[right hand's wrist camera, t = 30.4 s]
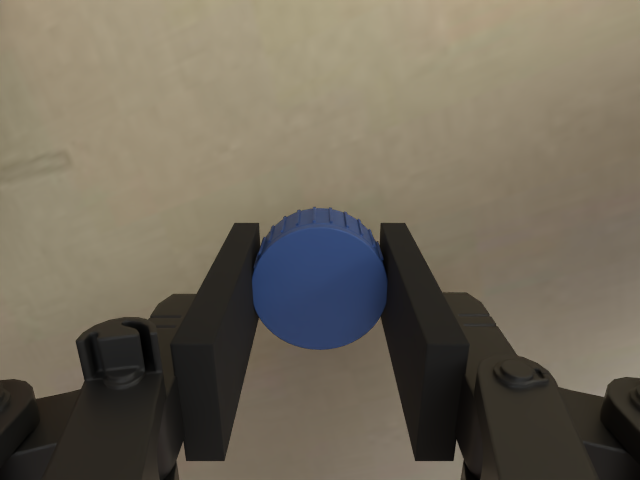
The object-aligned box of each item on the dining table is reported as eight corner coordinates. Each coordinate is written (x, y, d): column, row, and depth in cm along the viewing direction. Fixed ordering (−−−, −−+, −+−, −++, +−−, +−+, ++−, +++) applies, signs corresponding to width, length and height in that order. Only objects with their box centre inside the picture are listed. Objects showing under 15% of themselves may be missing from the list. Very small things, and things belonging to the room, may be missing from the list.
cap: (408, 254, 14) (419, 279, 13) (330, 340, 15) (332, 374, 14) (306, 179, 13) (304, 196, 12) (232, 276, 15) (221, 304, 13)
